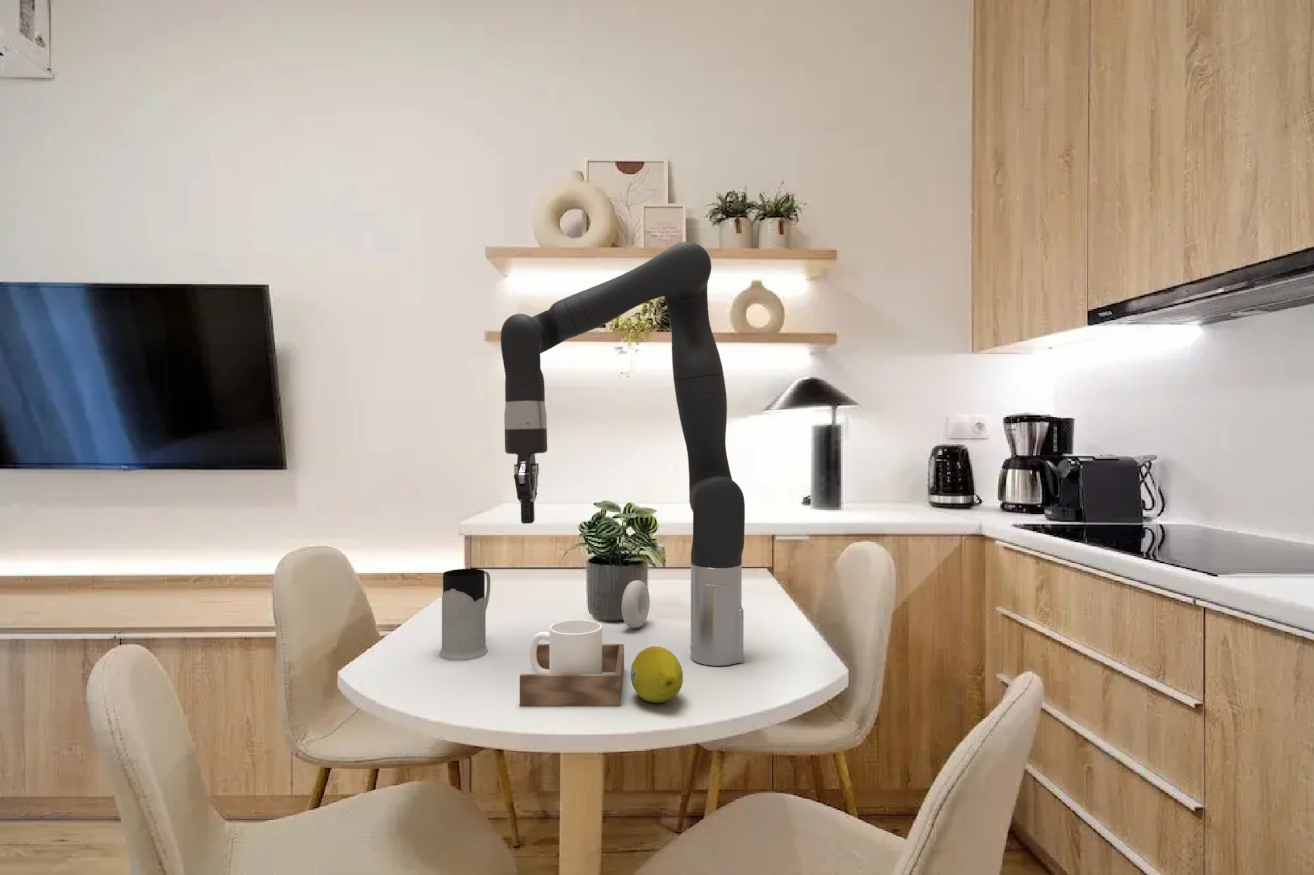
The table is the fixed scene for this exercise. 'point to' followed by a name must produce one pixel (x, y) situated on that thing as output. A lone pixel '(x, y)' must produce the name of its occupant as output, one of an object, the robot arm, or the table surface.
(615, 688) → the wooden box
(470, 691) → the table surface
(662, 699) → the lemon
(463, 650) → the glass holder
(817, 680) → the table surface
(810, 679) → the table surface
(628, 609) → the donut
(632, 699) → the table surface
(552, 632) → the cup
